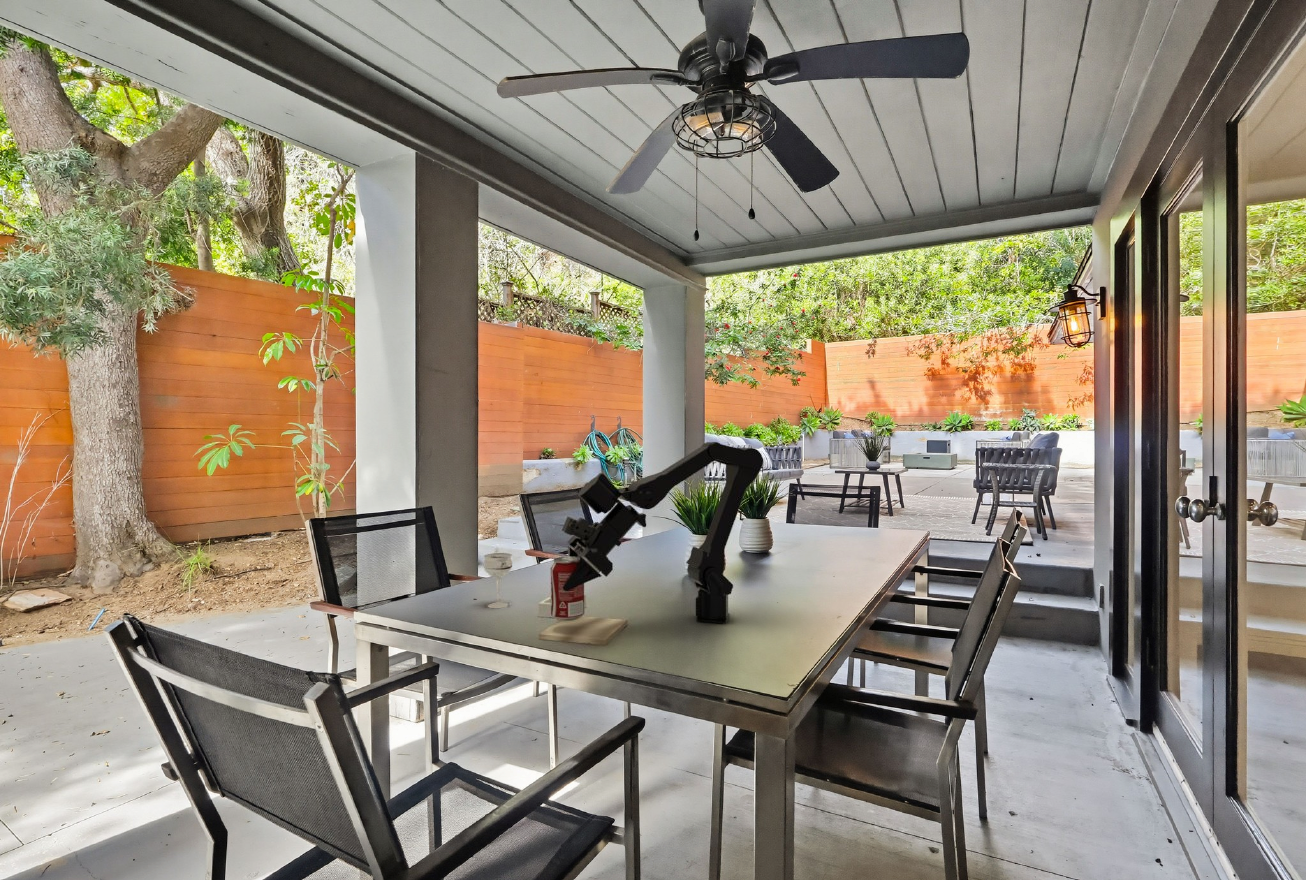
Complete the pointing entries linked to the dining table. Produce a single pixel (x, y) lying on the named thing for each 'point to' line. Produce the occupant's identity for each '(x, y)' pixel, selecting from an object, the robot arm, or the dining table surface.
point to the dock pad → (584, 630)
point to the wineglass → (497, 571)
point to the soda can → (562, 601)
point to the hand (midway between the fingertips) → (560, 585)
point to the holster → (549, 607)
